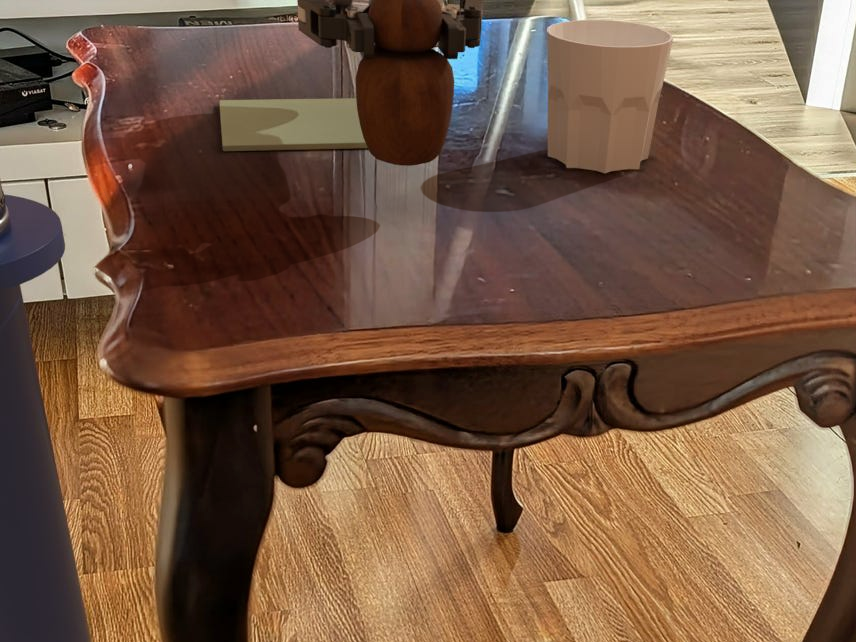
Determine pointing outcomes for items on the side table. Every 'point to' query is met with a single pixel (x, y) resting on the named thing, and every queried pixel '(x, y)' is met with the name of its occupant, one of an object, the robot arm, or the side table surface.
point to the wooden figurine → (405, 84)
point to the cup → (604, 91)
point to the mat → (290, 124)
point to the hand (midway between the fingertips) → (411, 42)
